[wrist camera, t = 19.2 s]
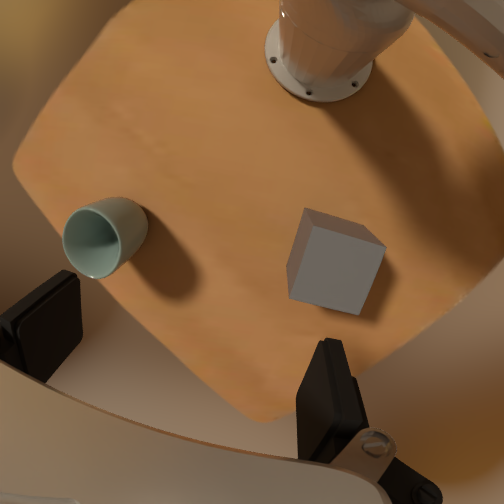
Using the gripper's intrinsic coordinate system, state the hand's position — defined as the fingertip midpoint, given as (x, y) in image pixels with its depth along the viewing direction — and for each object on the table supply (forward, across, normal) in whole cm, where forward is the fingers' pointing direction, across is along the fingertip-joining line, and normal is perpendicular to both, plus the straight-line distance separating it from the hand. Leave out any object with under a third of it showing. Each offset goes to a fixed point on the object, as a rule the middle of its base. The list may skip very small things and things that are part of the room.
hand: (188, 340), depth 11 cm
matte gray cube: (+28, -10, +3) cm, 30 cm away
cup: (+28, +15, +6) cm, 32 cm away
